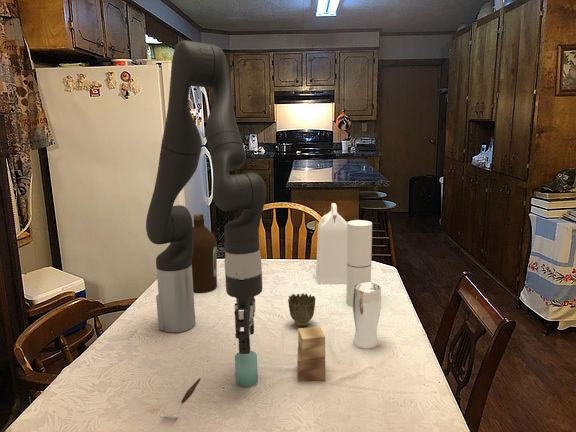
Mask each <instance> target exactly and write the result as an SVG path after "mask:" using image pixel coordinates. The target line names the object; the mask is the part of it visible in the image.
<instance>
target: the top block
mask: <svg viewBox="0 0 576 432" xmlns="http://www.w3.org/2000/svg"><path fill="white" fill-rule="evenodd" d="M297 329H298V330H297V335H298V336H297V337H298V338H297V342H298V343H297V344H298V346H297V350H298V349H299V352H300V355H301V357H302V360H310V359H320V358H325V359H326V335H325V333H324V332H323V329H322V327H321V326H311V327H298V328H297Z"/></svg>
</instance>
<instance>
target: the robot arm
mask: <svg viewBox="0 0 576 432" xmlns="http://www.w3.org/2000/svg"><path fill="white" fill-rule="evenodd" d="M191 87H200V88H209V89H210V91H211V93H212V95H213V105H212V107H211V109H210V112H209V113H208V114H209V115H208V117H207V120H206V124H205V130H204V131H205V132H204V133H205V140H206V144H207V147H208V151H209V155H210V158H211V164H212V177H213V179H212V199H213V202H214V203H215V205H216V207H217V208H218V209H220V210H221V211H224V212H233V211H240V210H243V212H242V214H241V215H240V216H239V217H238V218H236V219H233V220H230V221H229V222H227V223H226V224H225V225H224V227H223V228H224V229H223V236H224V237H223V238H224V273H225V275H224V276H225V291H226V294H227V295H228V296H229V297H232V298H235V299H236V301H235V302H236V303H234V311H233V312H234V323H235V324H234V325H235V326H234V327H235V339H237V340H238V352H239V353H240V354H249V353H250V351H251V339H250V338H251V337H250V336H251V335H254V334H255V323H254V321H255V319H254V318H255V314H256V296H259V295H260V294H262V293H263V271H262V270H263V268H262V267H263V266H262V257H261V252H260V251H261V250H260V248H261V247H260V225H261V221H262V215H263V211H264V207H265V202H266V198H267V186H266V184H265V180H264V179H263V178H262V176H261V175H260V174H257V173H256V172H249V173H239V174H238V173H237V174H230V173H229V172H231V171H233V170H236V169H239V168H241V167H242V166H243V165H244V164H245V163H246V161H247V153H246V149H245V147H244V144H243V140H242V136H241V133H240V131H239V126H238V123H237V118H236V113H235V107H234V106H235V105H234V99H233V90H232V83H231V78H230V71H229V64H228V61H227V57H226V54H225V52H224V50H223V49H222V48H221V47H220V46H218V45H214V44H209V43H205V42H204V43H203V42H198V41H191V40H181V41H179V42H177V44H176V45H175V48H174V50H173V54H172V60H171V68H170V79H169V90H168V91H169V94H168V103H167V112H166V116H165V117H166V118H165V124H164V129H163V135H162V140H161V146H160V152H159V157H158V158H159V160H158V167H157V172H156V173H157V174H156V179H155V183H154V187H153V192H152V196H151V200H150V203H149V207H148V210H147V215H146V220H145V230H146V235H147V237H148V239H149V241H150V242H151V243H152V244H153V245H166V244H169V245H168V246H167V247H166V248H165V249H164V250H163V251H161V253H159V254H158V255H157V256H156V258H155V267H156V268H155V269H156V279H157V291H158V294H157V295H156V298H155V302H156V311H157V325H158V330H159V331H164V332H166V333H173V334H175V333H183V332H186V331H189V330H191V329H192V328H194V327H195V325H196V310H195V292H193V277H192V256H193V227H194V222H193V219H192V216H191V212H190V211H189V210H188V208H187V207H186V206H184V205H181V204H180V205H178V204H177V205H174V203H175V202H176V199H177V197H178V195H179V194H180V193H181V192H182V190H183V189H184V188H185V187H186V186H187V184H188V183H189V182H190V180H191V179H192V177H193V176H194V175H195V173H196V171H197V168H198V166H199V161H200V157H201V153H202V147H203V145H202V144H203V140H202V137H201V133H200V130H199V128H198V126H197V124H196V122H195V120H194V117H193V115H192V113H191V108H190V101H189V98H190V97H189V95H190V89H191ZM241 328H243V330H241Z"/></svg>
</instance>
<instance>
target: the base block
mask: <svg viewBox="0 0 576 432" xmlns="http://www.w3.org/2000/svg"><path fill="white" fill-rule="evenodd" d="M296 357H297V367H296V368H297V382H326V357H325V358H320V359H310V360H302V357H301V355H300V352H299V349H298V348H297V356H296Z"/></svg>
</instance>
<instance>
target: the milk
mask: <svg viewBox="0 0 576 432" xmlns="http://www.w3.org/2000/svg"><path fill="white" fill-rule="evenodd" d="M347 222H348V221H346V219H345V218H343V217H342V215H341V214H339V212H338V206H337V204H336V202H335V203H334V202H332V203H331V205H330V211H329V212H327V213H325V214H324V215H323V216H322V217H321V218H320V220H319V222H318V223H317V237H316V241H317V242H316V243H317V244H316V272H315V273H316V280H317V285H347Z"/></svg>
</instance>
